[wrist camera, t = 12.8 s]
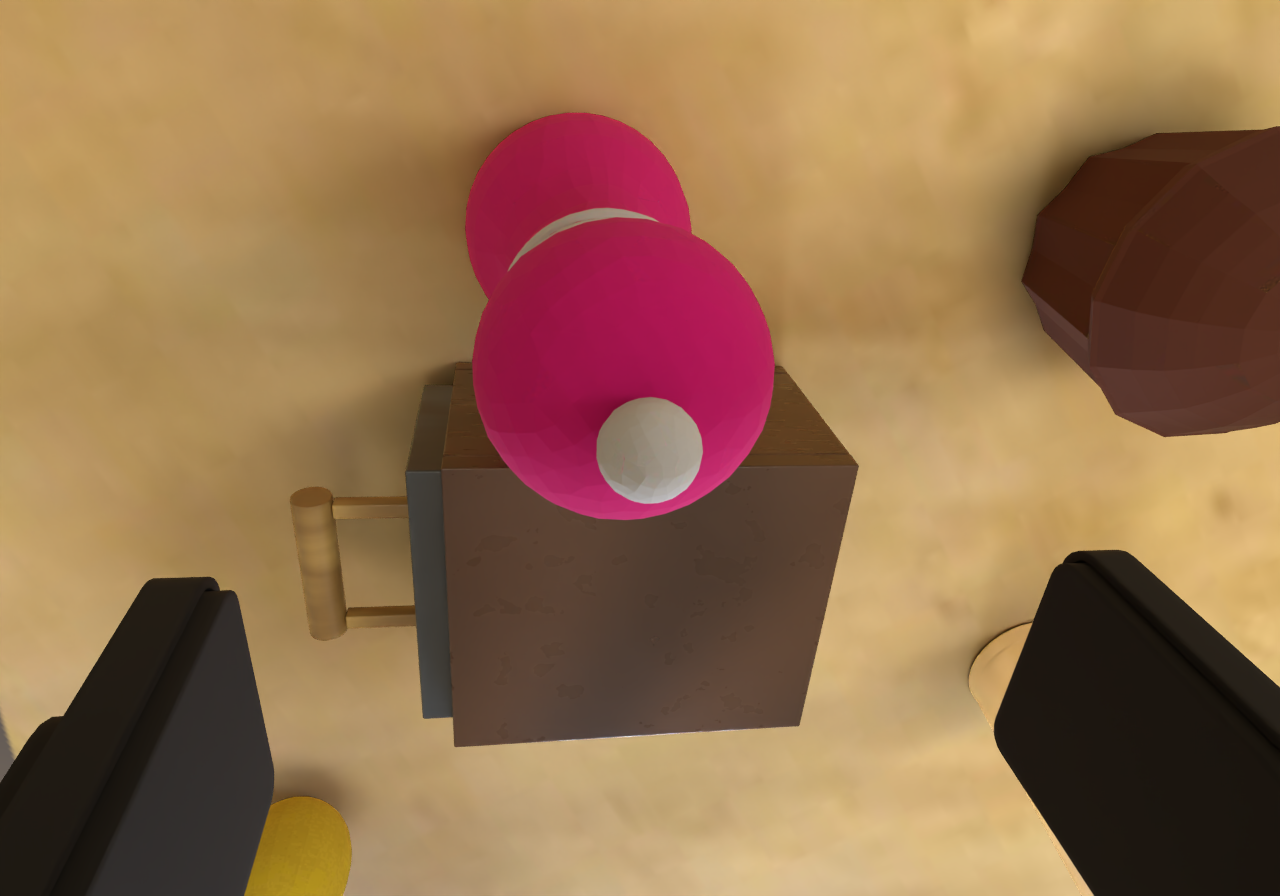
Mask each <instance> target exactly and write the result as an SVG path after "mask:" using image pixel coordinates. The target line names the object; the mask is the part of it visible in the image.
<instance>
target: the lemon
mask: <svg viewBox="0 0 1280 896" xmlns="http://www.w3.org/2000/svg"><path fill="white" fill-rule="evenodd" d="M351 857H352V848H351V840H350V835H349V831H348V827H347V825H346V823H345V821H344V820H343V818H342V816H341V815H340V814H339V812H338V811H337V810H336V809H334V808H333V807H332V806H331V805H330V804H328V803H326V802H324V801H322V800H320V799H316V798H313V797H309V796H305V797H304V796H303V797H292V798H287V799H284V800H281V801H279V802H277V803H274V804H272V805H271V806H270V809H269V812H268V815H267V819H266V822H265V826H264V829H263V833H262V836H261V839H260V843H259V846H258V850H257V853H256V857H255V860H254V864H253V867H252V870H251V874H250V877H249V881H248V884H247V888H246V891H245V894H244V896H343V893H344V891H345V887H346V884H347V880H348V876H349V871H350V866H351Z"/></svg>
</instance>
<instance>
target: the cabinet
mask: <svg viewBox="0 0 1280 896" xmlns="http://www.w3.org/2000/svg"><path fill="white" fill-rule="evenodd" d="M858 467H859V466H858V464H857V463H856V461H855V460H854V459H853V457H852V456H851V455H849V453H848V451H847V450H846V449H845V447H844V446H843V445H842V443H841V442H840V441H839V440H838V438H837V437H836V436H835V434H834V433H833V432H832V430H831V429H830V428H829V426H828V425H827V424H826V423H825V421H824V420H823V419H822V417H821V416H820V415H819V413H818V412H817V411H816V409H815V408H814V407H813V406H812V404H811V403H810V402H809V400H808V399H807V398H806V396H805V395H804V394H803V392H802V391H801V390H800V388H799V387H798V386H797V385H796V383H795V382H794V381H793V379H792V378H791V377H790V375H789V374H787V372H786V371H785V369H784V368H783V367H775V369H774V382H773V392H772V398H771V405H770V409H769V412H768V415H767V418H766V421H765V424H764V427H763V430H762V432H761V434H760V435H759V437H758V439H757V440H756V442H755V444H754V446H753V447H752V449H751V451H750V452H749V454H748V455H747V457H746V458H745V459H744V460H743V461H742V463H741V464H740V465H739V466H738V467H737V469H736V470H735V471H734V472H733V474H732V475H731V476H730V477H729V478H727V479H726V480H725V481H724V482H722V483H721V484H720V485H719V486H717V487H716V488H715V489H713V490H712V491H711V492H710V493H708V494H706V495H705V496H703V497H701V498H700V499H698V500H696V501H695V502H693V503H691V504H690V505H687V506H684V507H682V508H679V509H676V510H674V511H671V512H669V513H666V514H662V515H657V516H652V517H648V518H643V519H632V520H616V519H598V518H594V517H590V516H586V515H582V514H579V513H576V512H574V511H571V510H569V509H566V508H564V507H561V506H558V505H556V504H554V503H552V502H550V501H549V500H547V499H545V498H544V497H542V496H541V495H539V494H538V493H537V492H535V491H534V490H532V489H531V488H530V487H528V486H527V485H525V484H524V483H523V482H522V481H521V480H520V479H519V478H518V476H517V475H516V474H515V473H514V472H513V471H512V470H511V469H510V468H509V467H508V465H507V464H506V463H505V462H504V461H503V459H502V458H501V456H500V455H499V453H498V452H497V450H496V449H495V447H494V446H493V444H492V442H491V441H490V439H489V438H488V436H487V433H486V430H485V427H484V425H483V422H482V419H481V416H480V413H479V410H478V408H477V403H476V397H475V392H474V386H473V369H472V363H462V362H458V363H456V367H455V374H454V381H453V388H452V395H451V402H450V409H449V417H448V424H447V431H446V438H445V445H444V452H443V459H442V466H441V479H442V500H443V521H444V541H445V562H446V583H447V604H448V625H449V646H450V666H451V687H452V708H453V729H454V746H455V747H465V746H482V745H498V744H514V743H531V742H547V741H563V740H580V739H596V738H612V737H629V736H645V735H661V734H678V733H694V732H710V731H727V730H743V729H759V728H776V727H792V726H799V725H800V720H801V716H802V711H803V707H804V703H805V698H806V694H807V690H808V685H809V681H810V677H811V672H812V668H813V663H814V659H815V655H816V650H817V646H818V642H819V637H820V633H821V628H822V624H823V620H824V615H825V611H826V607H827V602H828V598H829V593H830V589H831V585H832V580H833V576H834V572H835V567H836V563H837V558H838V554H839V550H840V545H841V541H842V537H843V532H844V528H845V523H846V519H847V515H848V510H849V506H850V502H851V497H852V493H853V488H854V484H855V480H856V475H857V471H858Z"/></svg>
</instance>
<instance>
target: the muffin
mask: <svg viewBox="0 0 1280 896" xmlns="http://www.w3.org/2000/svg"><path fill="white" fill-rule="evenodd" d="M1021 282H1022V283H1023V285H1024V286H1025V288H1026V290H1027V291H1028V293H1029V295H1030V296H1031V298H1032V299H1033V301H1034V303H1035V304H1036V307H1037V310H1038V314H1039V317H1040V320H1041V323H1042V326H1043V329H1044V331H1045V332H1046V333H1047V334H1048V335H1049V336H1050V337H1051V338H1052V339H1053V340H1054V341H1055V342H1056V343H1057V344H1058V345H1059V346H1060V347H1061V348H1062V349H1063V350H1064V351H1065V352H1066V353H1067V354H1068V355H1069V356H1070V357H1071V358H1072V359H1073V360H1074V361H1075V362H1076V363H1077V364H1078V365H1079V366H1080V367H1081V368H1082V369H1083V370H1084V371H1085V372H1086V373H1087V374H1088V375H1089V376H1090V377H1091V378H1092V379H1093V380H1094V381H1095V382H1096V383H1097V384H1098V385H1099V386H1100V387H1101V389H1102V391H1103V393H1104V394H1105V396H1106V398H1107V400H1108V402H1109V404H1110V405H1111V407H1112V409H1113V411H1114V413H1115V414H1116V415H1118V416H1120V417H1122V418H1124V419H1126V420H1129V421H1131V422H1133V423H1135V424H1137V425H1139V426H1142V427H1144V428H1146V429H1148V430H1150V431H1152V432H1155V433H1157V434H1159V435H1161V436H1163V437H1171V436H1187V435H1202V434H1218V433H1227V432H1230V431H1236V430H1243V429H1249V428H1256V427H1261V426H1266V425H1271V424H1276V423H1278V422H1280V126H1276V127H1272V128H1268V129H1265V130H1240V131H1211V132H1182V133H1156V134H1154V135H1152V136H1149V137H1147V138H1145V139H1143V140H1140V141H1138V142H1136V143H1134V144H1132V145H1129V146H1127V147H1125V148H1123V149H1119V150H1115V151H1111V152H1107V153H1103V154H1099V155H1095V156H1091V157H1089V158H1088V159H1087V160H1086V162H1085V163H1084V164H1083V166H1082V167H1081V168H1080V170H1079V171H1078V172H1077V173H1076V175H1075V176H1074V177H1073V179H1072V180H1071V181H1070V182H1069V184H1068V185H1067V186H1066V188H1065V189H1064V190H1063V191H1062V192H1061V193H1060V194H1059V195H1058V196H1057V197H1056V198H1055V199H1054V200H1052V201H1051V202H1050V203H1049V204H1048V205H1047V206H1046V207H1045V208H1044V209H1043V210H1042V211H1041V212H1040V213H1039V214H1038V215H1037V221H1036V228H1035V234H1034V241H1033V247H1032V251H1031V254H1030V257H1029V260H1028V263H1027V266H1026V269H1025V272H1024V275H1023V278H1022V281H1021Z"/></svg>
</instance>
